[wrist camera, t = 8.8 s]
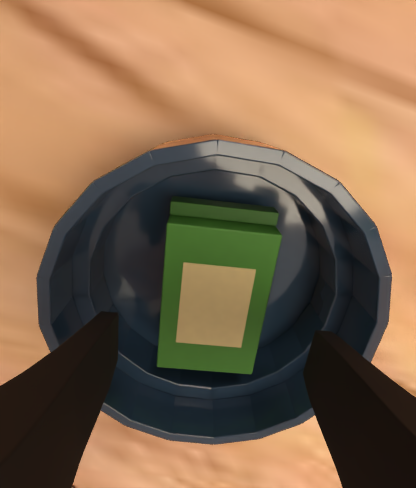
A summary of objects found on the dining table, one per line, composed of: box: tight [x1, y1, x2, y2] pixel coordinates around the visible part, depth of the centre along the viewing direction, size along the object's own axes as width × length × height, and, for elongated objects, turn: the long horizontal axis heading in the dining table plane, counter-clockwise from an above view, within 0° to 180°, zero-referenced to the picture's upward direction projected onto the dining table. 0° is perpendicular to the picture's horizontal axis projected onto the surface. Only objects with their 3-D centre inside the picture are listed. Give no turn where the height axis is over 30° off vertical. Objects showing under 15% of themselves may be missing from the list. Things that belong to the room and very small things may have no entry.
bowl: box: [36, 134, 392, 445], centre depth 15 cm, size 14×14×5 cm
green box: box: [157, 196, 282, 374], centre depth 15 cm, size 8×5×3 cm, turn 173°
